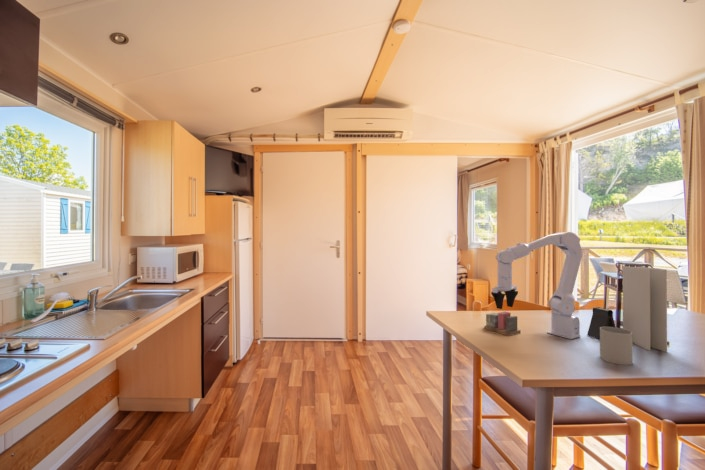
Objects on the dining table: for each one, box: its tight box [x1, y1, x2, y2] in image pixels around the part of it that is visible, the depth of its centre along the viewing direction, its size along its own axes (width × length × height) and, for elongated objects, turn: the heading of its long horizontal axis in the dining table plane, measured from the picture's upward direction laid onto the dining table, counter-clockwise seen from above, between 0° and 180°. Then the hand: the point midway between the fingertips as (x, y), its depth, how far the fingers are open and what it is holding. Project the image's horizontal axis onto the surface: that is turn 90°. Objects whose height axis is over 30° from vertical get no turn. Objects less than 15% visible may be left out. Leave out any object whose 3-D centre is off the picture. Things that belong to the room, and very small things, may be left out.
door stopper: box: [586, 306, 617, 340], centre depth 125 cm, size 9×6×12 cm, turn 104°
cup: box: [599, 326, 633, 366], centre depth 102 cm, size 8×8×10 cm
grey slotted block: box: [483, 312, 521, 337], centre depth 133 cm, size 12×8×7 cm, turn 29°
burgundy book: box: [497, 311, 511, 330], centre depth 132 cm, size 2×5×7 cm, turn 119°
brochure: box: [622, 265, 668, 353], centre depth 116 cm, size 14×6×30 cm, turn 168°
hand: (504, 307), depth 132 cm, fingers open, 7 cm apart
